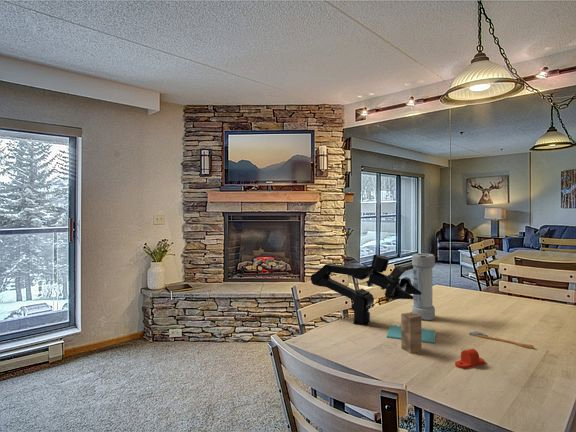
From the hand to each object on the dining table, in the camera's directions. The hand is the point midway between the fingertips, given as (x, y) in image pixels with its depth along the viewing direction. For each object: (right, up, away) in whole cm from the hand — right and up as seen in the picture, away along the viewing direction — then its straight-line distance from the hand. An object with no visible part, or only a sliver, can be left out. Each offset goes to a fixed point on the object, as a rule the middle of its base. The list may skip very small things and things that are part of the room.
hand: (417, 295), depth 146 cm
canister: (+11, -16, +23) cm, 30 cm away
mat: (-2, -16, +1) cm, 16 cm away
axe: (+31, -17, -5) cm, 36 cm away
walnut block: (-8, -17, -15) cm, 24 cm away
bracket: (+8, -17, -27) cm, 33 cm away
